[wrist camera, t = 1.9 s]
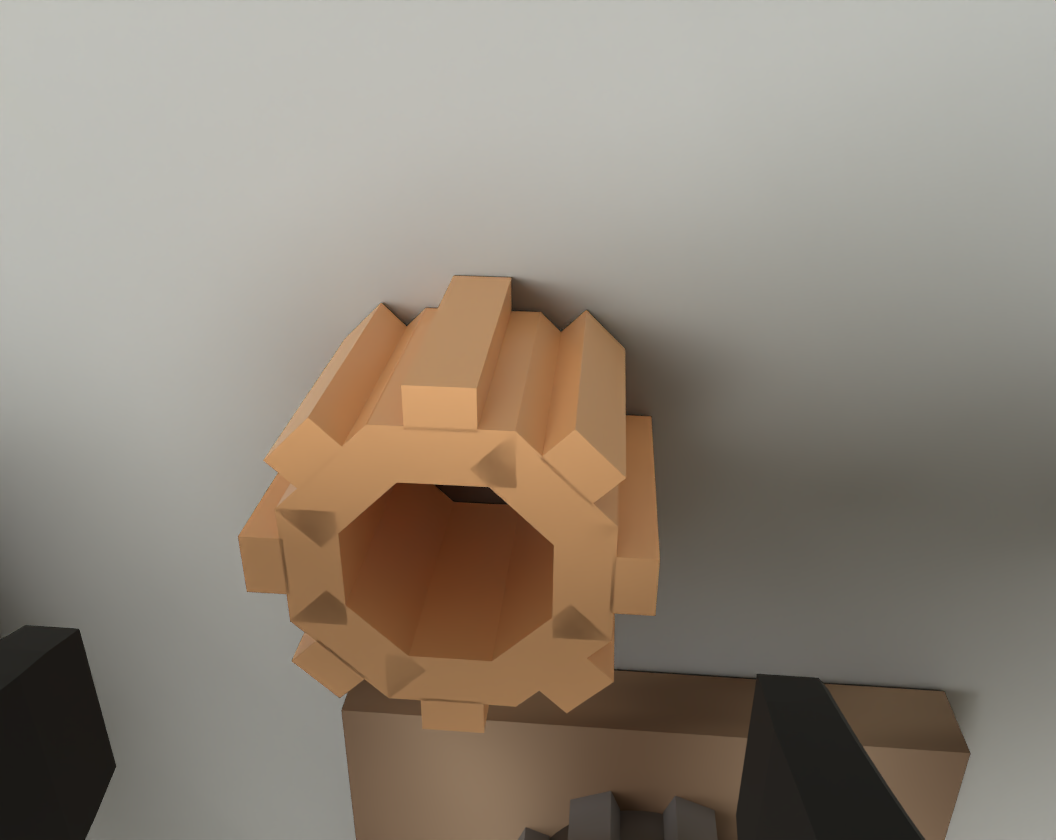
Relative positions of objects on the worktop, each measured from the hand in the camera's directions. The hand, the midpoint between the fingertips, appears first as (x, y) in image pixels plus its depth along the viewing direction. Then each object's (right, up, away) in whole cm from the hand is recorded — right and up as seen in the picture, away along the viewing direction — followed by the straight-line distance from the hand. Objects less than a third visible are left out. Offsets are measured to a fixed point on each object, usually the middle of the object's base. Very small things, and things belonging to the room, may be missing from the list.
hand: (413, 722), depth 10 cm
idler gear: (0, +3, +6) cm, 7 cm away
